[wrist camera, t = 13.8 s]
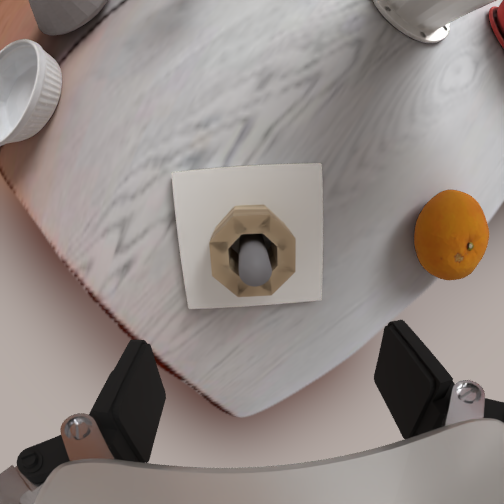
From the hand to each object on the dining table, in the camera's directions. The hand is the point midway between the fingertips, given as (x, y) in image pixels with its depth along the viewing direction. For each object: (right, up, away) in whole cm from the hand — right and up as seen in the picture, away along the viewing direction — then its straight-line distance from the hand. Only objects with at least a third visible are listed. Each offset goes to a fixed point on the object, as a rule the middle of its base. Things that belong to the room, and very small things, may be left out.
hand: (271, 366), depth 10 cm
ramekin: (-29, +24, +14) cm, 41 cm away
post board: (-1, +6, +20) cm, 21 cm away
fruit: (+23, +7, +21) cm, 32 cm away
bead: (-1, +6, +19) cm, 20 cm away
